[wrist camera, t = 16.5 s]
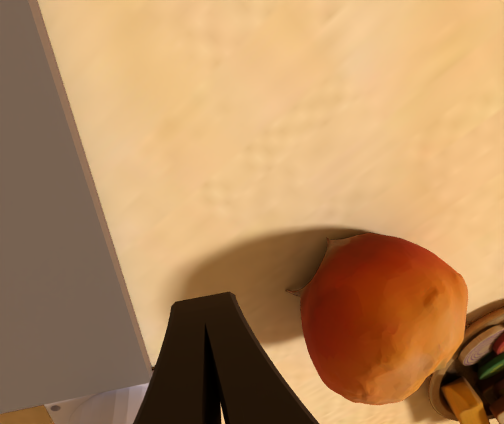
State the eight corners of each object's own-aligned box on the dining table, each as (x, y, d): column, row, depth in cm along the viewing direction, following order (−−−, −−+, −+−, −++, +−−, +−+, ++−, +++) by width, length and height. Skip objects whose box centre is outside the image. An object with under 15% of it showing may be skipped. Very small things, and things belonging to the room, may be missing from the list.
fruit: (298, 202, 17) (468, 331, 13) (380, 196, 23) (517, 285, 19) (235, 333, 21) (353, 471, 16) (320, 300, 26) (424, 396, 22)
